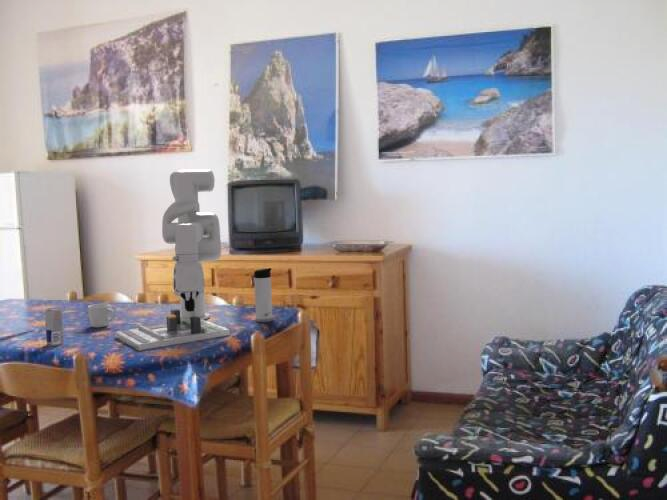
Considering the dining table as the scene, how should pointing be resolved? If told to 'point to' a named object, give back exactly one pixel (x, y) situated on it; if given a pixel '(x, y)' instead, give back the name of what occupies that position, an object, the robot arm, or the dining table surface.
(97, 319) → the cup
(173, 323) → the block
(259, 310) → the travel mug
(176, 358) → the dining table surface
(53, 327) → the energy drink
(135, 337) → the panel
